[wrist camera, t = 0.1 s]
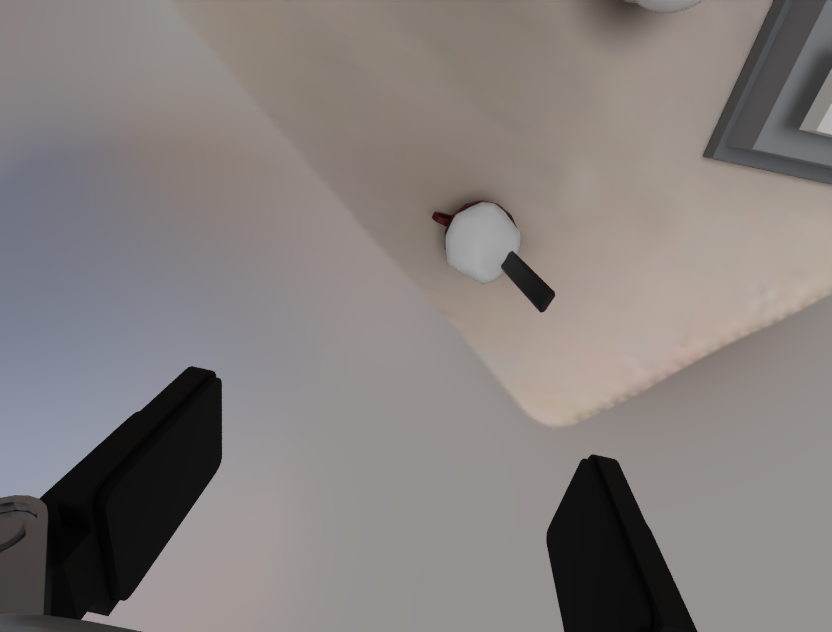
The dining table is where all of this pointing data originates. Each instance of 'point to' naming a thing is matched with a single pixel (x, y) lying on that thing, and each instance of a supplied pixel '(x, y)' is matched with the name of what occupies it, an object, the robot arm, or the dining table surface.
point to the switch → (820, 111)
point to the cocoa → (490, 249)
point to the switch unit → (780, 95)
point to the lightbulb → (665, 5)
